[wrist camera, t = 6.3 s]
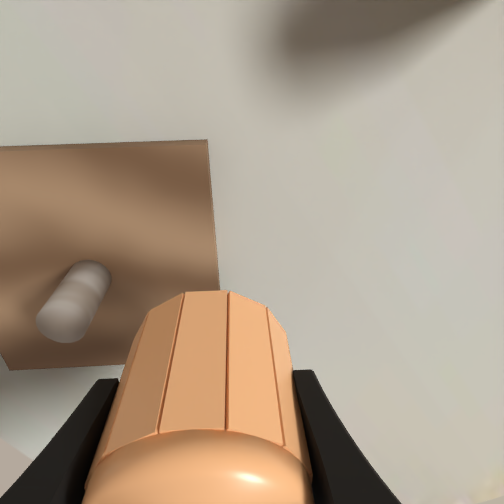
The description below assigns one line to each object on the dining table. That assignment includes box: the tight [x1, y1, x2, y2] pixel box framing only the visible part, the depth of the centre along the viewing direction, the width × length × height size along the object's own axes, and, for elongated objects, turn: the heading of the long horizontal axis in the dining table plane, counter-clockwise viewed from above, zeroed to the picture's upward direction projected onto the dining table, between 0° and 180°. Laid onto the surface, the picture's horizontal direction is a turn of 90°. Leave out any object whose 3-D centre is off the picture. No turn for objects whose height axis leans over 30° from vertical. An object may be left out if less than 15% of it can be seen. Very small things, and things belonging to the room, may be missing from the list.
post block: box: [0, 140, 220, 370], centre depth 18 cm, size 14×14×5 cm
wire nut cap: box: [81, 290, 315, 504], centre depth 11 cm, size 6×6×6 cm
